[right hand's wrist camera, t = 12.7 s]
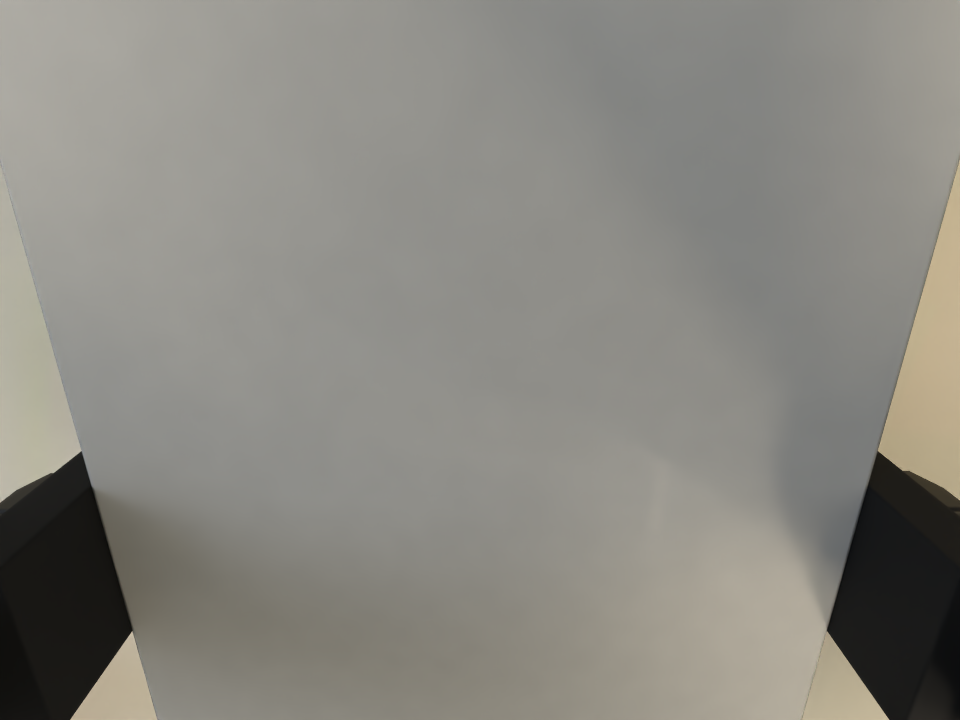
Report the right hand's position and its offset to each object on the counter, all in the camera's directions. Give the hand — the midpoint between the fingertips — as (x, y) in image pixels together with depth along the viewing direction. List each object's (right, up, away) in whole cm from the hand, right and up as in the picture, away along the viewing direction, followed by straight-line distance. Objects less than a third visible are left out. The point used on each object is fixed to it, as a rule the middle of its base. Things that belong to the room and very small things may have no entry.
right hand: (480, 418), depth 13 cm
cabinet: (0, +5, +3) cm, 6 cm away
